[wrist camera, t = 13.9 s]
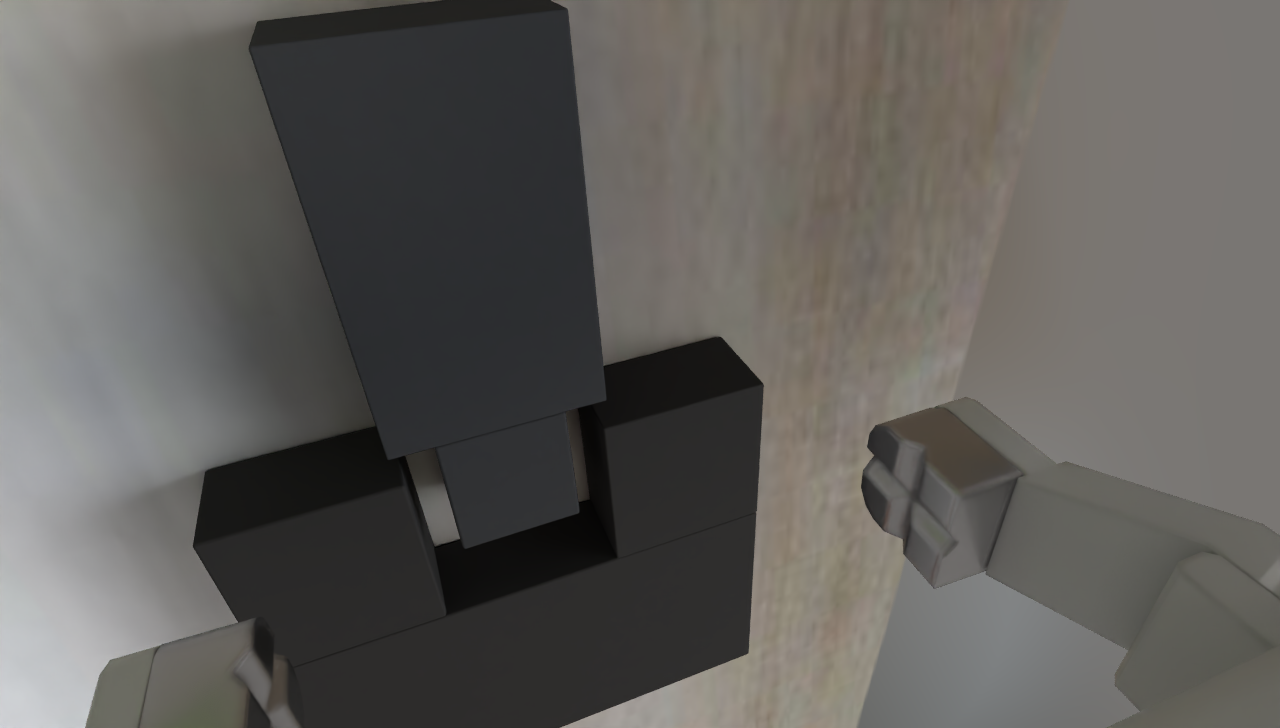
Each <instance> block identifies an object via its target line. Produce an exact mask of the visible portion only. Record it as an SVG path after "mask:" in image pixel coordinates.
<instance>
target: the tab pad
mask: <svg viewBox="0 0 1280 728" xmlns="http://www.w3.org/2000/svg"><path fill="white" fill-rule="evenodd" d="M249 52H250V54H251V57H252V60H253V63H254V66H255V69H256V72H257V75H258V78H259V81H260V84H261V87H262V90H263V93H264V96H265V99H266V102H267V105H268V108H269V111H270V114H271V117H272V120H273V123H274V126H275V128H276V131H277V134H278V137H279V140H280V143H281V146H282V149H283V152H284V155H285V158H286V161H287V164H288V167H289V170H290V173H291V176H292V179H293V182H294V185H295V188H296V191H297V194H298V197H299V200H300V203H301V205H302V208H303V211H304V214H305V217H306V220H307V223H308V226H309V229H310V232H311V235H312V238H313V241H314V244H315V247H316V250H317V253H318V256H319V259H320V262H321V265H322V268H323V271H324V274H325V277H326V279H327V282H328V285H329V288H330V291H331V294H332V297H333V300H334V303H335V306H336V309H337V312H338V315H339V318H340V321H341V324H342V327H343V330H344V333H345V336H346V339H347V342H348V345H349V348H350V351H351V354H352V356H353V359H354V362H355V365H356V368H357V371H358V374H359V377H360V380H361V383H362V386H363V389H364V392H365V395H366V398H367V401H368V404H369V407H370V410H371V413H372V416H373V419H374V422H375V425H376V428H377V431H378V433H379V436H380V439H381V442H382V445H383V448H384V451H385V454H386V457H387V459H388V460H390V459H394V458H398V457H401V456H405V455H409V454H412V453H416V452H419V451H423V450H427V449H430V448H435V451H436V455H437V458H438V462H439V465H440V469H441V473H442V476H443V480H444V483H445V487H446V490H447V494H448V497H449V501H450V504H451V508H452V511H453V515H454V518H455V522H456V525H457V529H458V532H459V536H460V539H461V543H462V546H463V548H464V549H466V548H470V547H473V546H476V545H479V544H482V543H486V542H489V541H492V540H495V539H498V538H501V537H505V536H508V535H511V534H514V533H517V532H520V531H524V530H527V529H530V528H533V527H536V526H540V525H543V524H546V523H549V522H552V521H555V520H559V519H562V518H565V517H568V516H571V515H575V514H578V513H579V503H578V496H577V489H576V482H575V475H574V468H573V461H572V454H571V447H570V440H569V433H568V426H567V419H566V413H565V411H569V410H573V409H576V408H580V407H584V406H587V405H591V404H595V403H598V402H602V401H605V400H606V399H607V398H606V388H605V378H604V368H603V358H602V347H601V337H600V327H599V317H598V307H597V297H596V287H595V277H594V267H593V257H592V247H591V237H590V227H589V217H588V207H587V197H586V187H585V176H584V166H583V156H582V146H581V136H580V126H579V116H578V106H577V96H576V86H575V76H574V66H573V56H572V46H571V36H570V26H569V16H568V9H567V8H565V7H563V6H561V5H559V4H557V3H555V2H553V1H551V0H444V1H435V2H426V3H417V4H408V5H399V6H390V7H381V8H372V9H363V10H354V11H345V12H336V13H327V14H319V15H310V16H301V17H292V18H283V19H274V20H265V21H258V22H257V24H256V27H255V30H254V33H253V36H252V39H251V42H250V45H249Z"/></svg>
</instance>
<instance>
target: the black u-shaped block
mask: <svg viewBox="0 0 1280 728" xmlns="http://www.w3.org/2000/svg"><path fill="white" fill-rule="evenodd" d="M603 368H604V378H605V388H606V398H607V399H606V400H605V401H602V402H598V403H595V404H591V405H587V406H584V407H580V408H579V415H580V423H581V431H582V439H583V446H584V454H585V462H586V470H587V478H588V485H589V493H590V500H589V501H586V502H583V503H580V504H579V513H578V514H575V515H571V516H568V517H565V518H562V519H559V520H555V521H552V522H549V523H546V524H543V525H540V526H536V527H533V528H530V529H527V530H524V531H520V532H517V533H514V534H511V535H508V536H505V537H501V538H498V539H495V540H492V541H489V542H486V543H482V544H479V545H476V546H473V547H470V548H466V549H464V548H463V546H462V543H461V540H460V541H457V542H454V543H450V544H447V545H444V546H441V547H437V548H434V545H433V542H432V539H431V536H430V533H429V530H428V526H427V523H426V520H425V517H424V514H423V511H422V507H421V504H420V501H419V498H418V495H417V492H416V489H415V485H414V482H413V479H412V476H411V473H410V470H409V467H408V463H407V460H406V457H405V456H401V457H398V458H394V459H390V460H388V459H387V457H386V454H385V451H384V448H383V445H382V442H381V439H380V436H379V433H378V431H377V428H376V427H373V428H370V429H366V430H362V431H358V432H354V433H350V434H346V435H343V436H339V437H335V438H331V439H327V440H323V441H320V442H316V443H312V444H308V445H304V446H300V447H297V448H293V449H289V450H285V451H281V452H277V453H273V454H270V455H266V456H262V457H258V458H254V459H250V460H247V461H243V462H239V463H235V464H231V465H227V466H224V467H220V468H216V469H212V470H208V471H206V472H205V476H204V482H203V488H202V494H201V500H200V506H199V512H198V518H197V524H196V530H195V536H194V542H193V548H194V550H195V551H196V553H197V555H198V556H199V558H200V560H201V561H202V563H203V565H204V566H205V568H206V570H207V571H208V573H209V575H210V576H211V578H212V580H213V581H214V583H215V585H216V586H217V588H218V590H219V591H220V593H221V595H222V596H223V598H224V600H225V601H226V603H227V605H228V606H229V608H230V610H231V611H232V613H233V615H234V616H235V618H236V620H237V621H238V623H239V622H242V621H246V620H249V619H253V618H256V617H264V619H265V620H266V622H267V623H268V625H269V626H270V628H271V630H272V631H273V633H274V634H275V636H274V653H276V654H279V655H282V656H285V657H288V659H289V661H290V663H291V665H292V666H293V668H294V670H295V673H296V676H297V679H298V682H299V685H300V688H301V695H302V701H303V708H304V728H560V727H562V726H565V725H568V724H570V723H573V722H575V721H578V720H580V719H583V718H585V717H588V716H591V715H593V714H596V713H598V712H601V711H603V710H606V709H608V708H611V707H613V706H616V705H619V704H621V703H624V702H626V701H629V700H631V699H634V698H636V697H639V696H641V695H644V694H647V693H649V692H652V691H654V690H657V689H659V688H662V687H664V686H667V685H670V684H672V683H675V682H677V681H680V680H682V679H685V678H687V677H690V676H692V675H695V674H698V673H700V672H703V671H705V670H708V669H710V668H713V667H715V666H718V665H720V664H723V663H726V662H728V661H731V660H733V659H736V658H738V657H741V656H743V655H746V654H748V652H749V634H750V616H751V598H752V580H753V562H754V544H755V526H756V511H757V495H758V477H759V459H760V441H761V423H762V405H763V387H764V385H763V383H762V382H761V381H760V380H759V378H758V377H757V376H756V375H755V374H754V373H753V372H752V371H751V370H750V368H749V367H748V366H747V365H746V364H745V363H744V362H743V361H742V360H741V359H740V357H739V356H738V355H737V354H736V353H735V352H734V351H733V350H732V349H731V347H730V346H729V345H728V344H727V343H726V342H725V341H724V340H723V339H722V338H721V337H718V338H714V339H710V340H706V341H702V342H698V343H695V344H691V345H687V346H683V347H679V348H675V349H672V350H668V351H664V352H660V353H656V354H652V355H649V356H645V357H641V358H637V359H633V360H629V361H625V362H622V363H618V364H614V365H610V366H606V367H603Z"/></svg>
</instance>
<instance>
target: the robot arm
mask: <svg viewBox="0 0 1280 728" xmlns="http://www.w3.org/2000/svg"><path fill="white" fill-rule="evenodd" d="M867 447H868V449H869V450H870V451H871V452H872V453H873V455H874V456H873V458H872V459H871V460H870V462H869V463H868V464H867V466H866V467H865V468H864V470H863V476H862V484H861V489H862V493H863V496H864V500H865V504H866V506H867V508H868V510H869V512H870V514H871V516H872V517H873V519H874V520H875V521H876V522H877V524H878V525H879V526H880V527H881V528H882V530H883V531H885V532H887V533H889V534H892V535H894V536H896V537H899V538H901V539H903V554H904V555H905V556H906V557H907V559H908V560H909V561H910V562H911V563H912V564H913V565H914V567H915V568H916V569H917V570H918V571H919V572H920V573H921V574H922V575H923V577H924V578H925V579H926V580H927V581H928V583H929V584H930V585H931V586H932V587H933V588H934V589H936V588H939V587H942V586H944V585H947V584H950V583H953V582H956V581H958V580H961V579H964V578H967V577H970V576H973V575H976V574H979V573H981V572H984V571H986V575H988V576H989V577H992V578H993V579H995V580H997V581H999V582H1001V583H1003V584H1005V585H1006V586H1008V587H1010V588H1012V589H1014V590H1016V591H1018V592H1020V593H1021V594H1023V595H1025V596H1027V597H1029V598H1031V599H1033V600H1035V601H1037V602H1039V603H1040V604H1043V605H1044V606H1046V607H1048V608H1050V609H1052V610H1053V611H1055V612H1057V613H1059V614H1061V615H1063V616H1065V617H1067V618H1069V619H1070V620H1072V621H1075V622H1076V623H1078V624H1080V625H1082V626H1084V627H1085V628H1087V629H1089V630H1091V631H1093V632H1095V633H1097V634H1099V635H1100V636H1102V637H1104V638H1106V639H1108V640H1110V641H1112V642H1114V643H1116V644H1117V645H1119V646H1121V647H1123V648H1125V649H1127V650H1128V652H1127V654H1126V656H1125V657H1124V659H1123V661H1122V662H1121V664H1120V666H1119V668H1118V669H1117V671H1116V673H1115V686H1116V687H1117V688H1118V689H1119V690H1120V691H1121V692H1122V693H1123V694H1124V695H1125V696H1126V697H1127V698H1128V699H1129V701H1131V703H1133V705H1134V706H1135V707H1136V708H1137V709H1138V710H1139V711H1140V712H1139V713H1136V714H1134V715H1132V716H1130V717H1128V718H1126V719H1124V720H1122V721H1120V722H1118V723H1115V724H1113V725H1111V726H1109V727H1107V728H1280V535H1278V534H1277V533H1275V532H1274V531H1272V530H1271V529H1269V528H1268V527H1267V526H1265V525H1263V524H1261V523H1258V522H1255V521H1252V520H1249V519H1246V518H1242V517H1239V516H1236V515H1233V514H1230V513H1227V512H1224V511H1220V510H1217V509H1214V508H1211V507H1208V506H1205V505H1201V504H1198V503H1195V502H1192V501H1189V500H1186V499H1182V498H1179V497H1176V496H1173V495H1170V494H1167V493H1164V492H1160V491H1157V490H1154V489H1151V488H1148V487H1145V486H1142V485H1139V484H1135V483H1132V482H1129V481H1126V480H1122V479H1120V478H1117V477H1113V476H1110V475H1107V474H1104V473H1100V472H1098V471H1094V470H1091V469H1088V468H1085V467H1082V466H1079V465H1075V464H1072V463H1069V462H1063V463H1059V464H1056V463H1055V462H1054V461H1052V460H1051V459H1050V458H1049V457H1047V456H1046V455H1045V454H1044V453H1042V452H1041V451H1040V450H1039V449H1037V448H1036V447H1035V446H1034V445H1032V444H1031V443H1030V442H1028V441H1027V440H1026V439H1025V438H1023V437H1022V436H1021V435H1020V434H1018V433H1017V432H1016V431H1015V430H1013V429H1012V428H1011V427H1010V426H1008V425H1007V424H1006V423H1004V422H1003V421H1002V420H1001V419H999V418H998V417H997V416H996V415H994V414H993V413H992V412H991V411H989V410H988V409H987V408H986V407H984V406H983V405H982V404H980V403H979V402H978V401H976V400H974V399H971V398H967V397H964V398H961V399H958V400H954V401H951V402H948V403H945V404H942V405H938V406H936V407H934V408H928V409H925V410H922V411H919V412H916V413H913V414H909V415H906V416H903V417H900V418H897V419H894V420H891V421H888V422H885V423H882V424H878V425H876V426H875V427H874V428H873V430H872V431H871V432H870V435H869V440H868V445H867ZM274 636H275V634H274V633H273V631H272V630H271V628H270V626H269V625H268V623H267V622H266V620H265V619H264V617H256V618H253V619H249V620H246V621H242V622H239V623H235V624H232V625H228V626H225V627H221V628H218V629H214V630H211V631H207V632H204V633H200V634H197V635H193V636H190V637H186V638H183V639H179V640H176V641H172V642H169V643H165V644H162V645H160V646H157V647H153V648H150V649H146V650H143V651H140V652H136V653H133V654H129V655H126V656H122V657H119V658H115V659H112V660H110V661H109V662H108V664H107V665H106V667H105V668H104V669H103V671H102V672H101V674H100V675H99V678H98V682H97V686H96V689H95V693H94V697H93V700H92V704H91V708H90V711H89V715H88V719H87V723H86V726H85V728H304V708H303V701H302V695H301V688H300V685H299V682H298V679H297V676H296V673H295V670H294V668H293V666H292V665H291V663H290V661H289V659H288V657H285V656H282V655H279V654H276V653H274Z"/></svg>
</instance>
